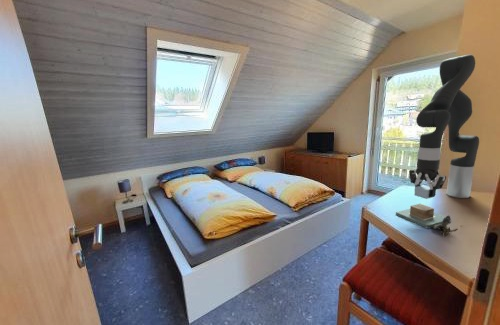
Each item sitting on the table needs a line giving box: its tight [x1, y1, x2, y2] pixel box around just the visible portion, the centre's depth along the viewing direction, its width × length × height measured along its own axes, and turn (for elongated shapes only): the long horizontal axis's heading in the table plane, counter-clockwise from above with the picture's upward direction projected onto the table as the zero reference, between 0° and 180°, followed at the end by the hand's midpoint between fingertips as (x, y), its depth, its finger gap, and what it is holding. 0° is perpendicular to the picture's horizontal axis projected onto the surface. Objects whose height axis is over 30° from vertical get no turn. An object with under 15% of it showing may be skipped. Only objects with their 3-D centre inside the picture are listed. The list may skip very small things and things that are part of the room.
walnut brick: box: [409, 203, 435, 220], centre depth 97 cm, size 6×6×4 cm
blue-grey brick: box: [413, 184, 431, 200], centre depth 95 cm, size 5×5×4 cm
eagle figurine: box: [430, 215, 458, 238], centre depth 86 cm, size 8×7×9 cm
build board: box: [395, 208, 446, 229], centre depth 98 cm, size 14×14×1 cm
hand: (424, 194), depth 96 cm, fingers closed on blue-grey brick, 5 cm apart
